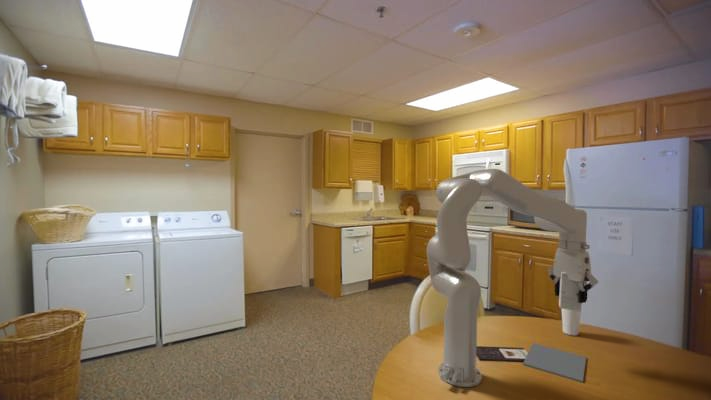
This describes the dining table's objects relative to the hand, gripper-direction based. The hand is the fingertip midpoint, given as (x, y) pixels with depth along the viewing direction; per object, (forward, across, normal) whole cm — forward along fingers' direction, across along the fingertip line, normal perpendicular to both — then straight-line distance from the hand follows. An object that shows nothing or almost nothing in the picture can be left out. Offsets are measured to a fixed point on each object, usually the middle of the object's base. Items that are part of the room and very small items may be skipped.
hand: (570, 298), depth 110 cm
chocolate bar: (+21, +11, +18) cm, 30 cm away
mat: (+21, +1, +6) cm, 21 cm away
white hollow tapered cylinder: (+21, +12, -21) cm, 32 cm away
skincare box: (+3, 0, 0) cm, 3 cm away
